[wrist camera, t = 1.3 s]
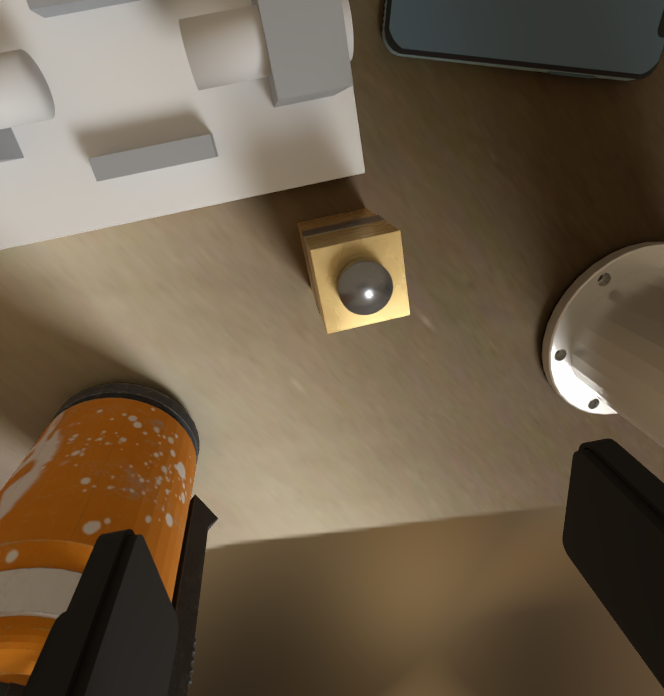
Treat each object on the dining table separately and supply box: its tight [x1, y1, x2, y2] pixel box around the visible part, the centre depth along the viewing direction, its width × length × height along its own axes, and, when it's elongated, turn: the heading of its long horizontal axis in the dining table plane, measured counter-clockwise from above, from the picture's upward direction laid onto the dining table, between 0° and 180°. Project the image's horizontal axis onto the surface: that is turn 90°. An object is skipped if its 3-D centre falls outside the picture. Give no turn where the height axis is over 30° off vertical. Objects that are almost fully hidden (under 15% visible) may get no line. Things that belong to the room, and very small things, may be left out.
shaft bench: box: [0, 0, 365, 250], centre depth 19 cm, size 20×12×6 cm, turn 100°
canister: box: [0, 383, 218, 696], centre depth 21 cm, size 9×11×20 cm
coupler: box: [297, 208, 410, 334], centre depth 23 cm, size 4×4×8 cm
